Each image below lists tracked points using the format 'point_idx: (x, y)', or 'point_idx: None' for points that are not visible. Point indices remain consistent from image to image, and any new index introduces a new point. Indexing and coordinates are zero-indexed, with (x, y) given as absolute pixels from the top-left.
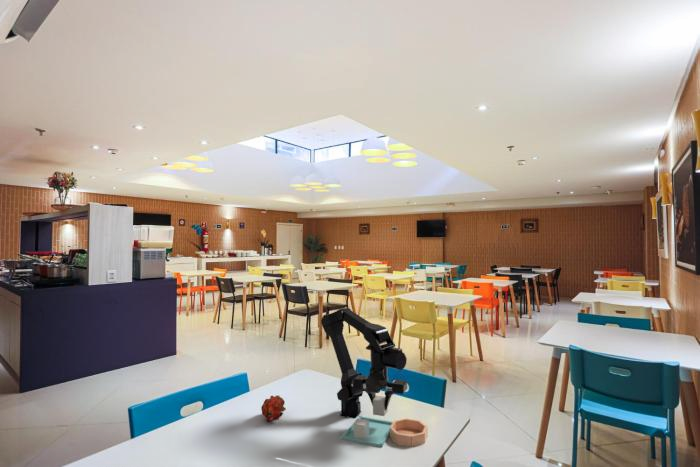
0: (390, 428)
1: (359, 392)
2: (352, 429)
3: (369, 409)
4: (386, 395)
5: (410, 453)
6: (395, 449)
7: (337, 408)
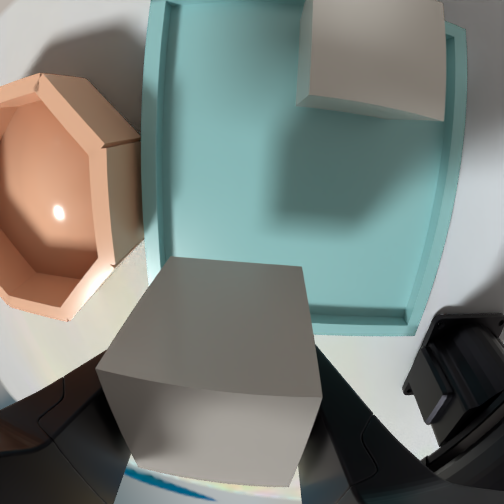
0: (98, 134)
1: (460, 469)
2: (436, 169)
3: None
4: (3, 438)
5: (23, 45)
6: (86, 32)
7: None
